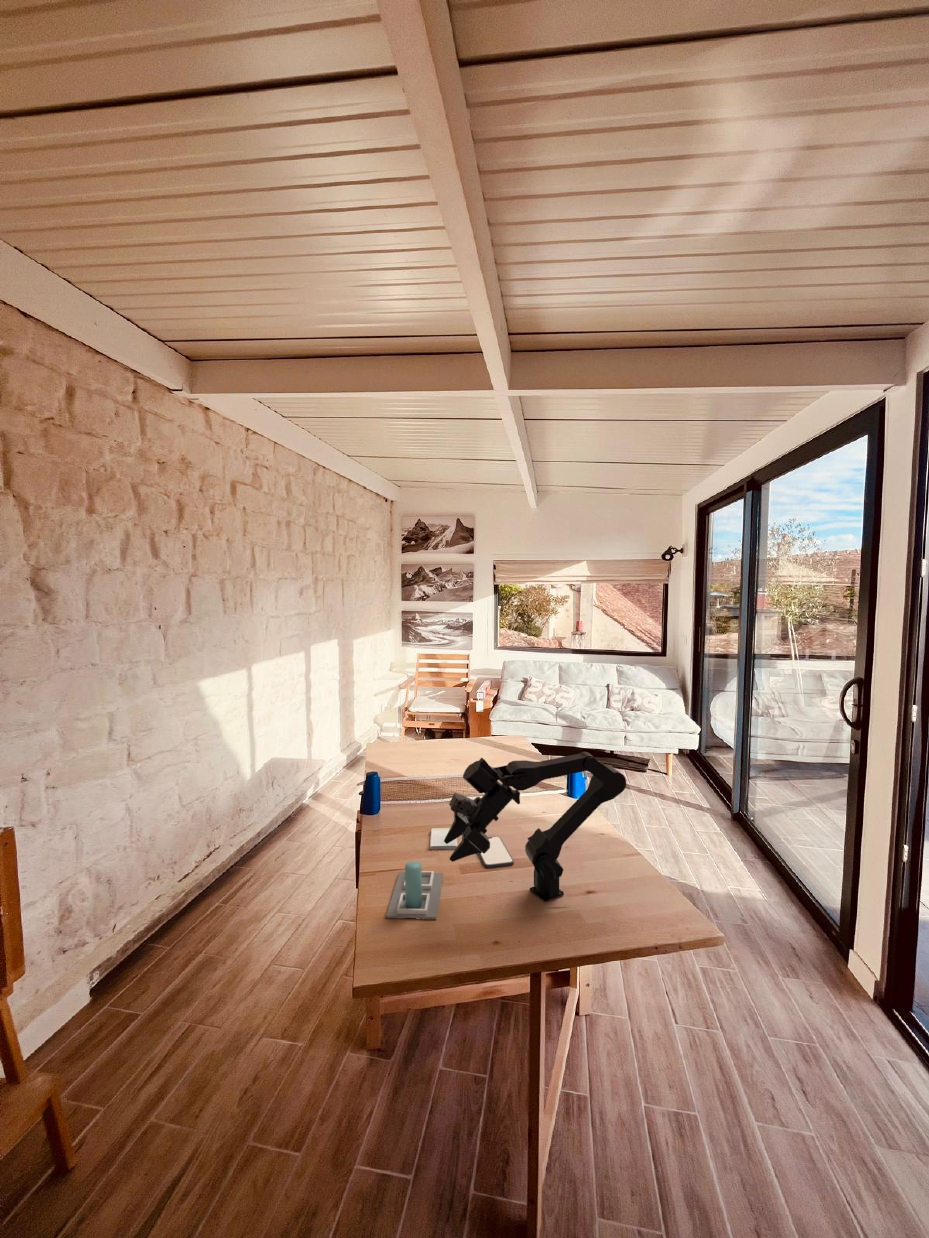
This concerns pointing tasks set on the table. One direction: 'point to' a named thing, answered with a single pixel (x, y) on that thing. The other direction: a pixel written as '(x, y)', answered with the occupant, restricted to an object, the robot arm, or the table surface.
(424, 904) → the pin board
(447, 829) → the hard drive
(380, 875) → the table surface
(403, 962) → the table surface
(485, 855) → the white smartphone
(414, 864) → the pin
